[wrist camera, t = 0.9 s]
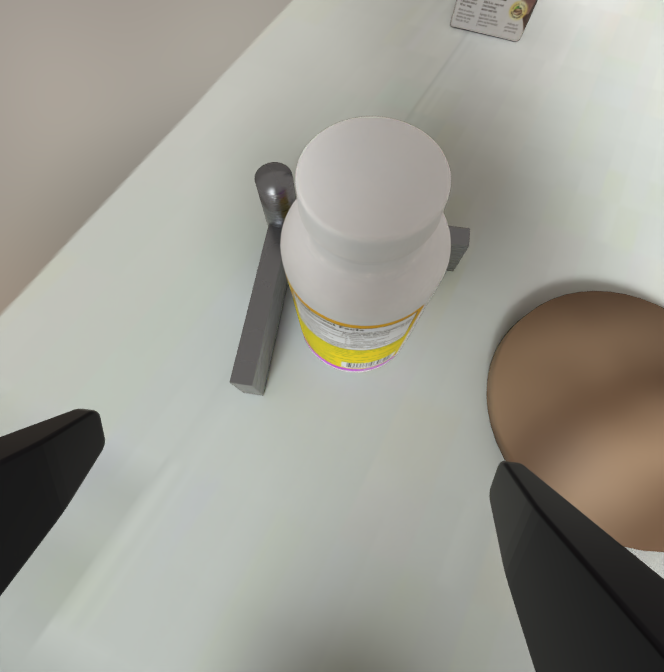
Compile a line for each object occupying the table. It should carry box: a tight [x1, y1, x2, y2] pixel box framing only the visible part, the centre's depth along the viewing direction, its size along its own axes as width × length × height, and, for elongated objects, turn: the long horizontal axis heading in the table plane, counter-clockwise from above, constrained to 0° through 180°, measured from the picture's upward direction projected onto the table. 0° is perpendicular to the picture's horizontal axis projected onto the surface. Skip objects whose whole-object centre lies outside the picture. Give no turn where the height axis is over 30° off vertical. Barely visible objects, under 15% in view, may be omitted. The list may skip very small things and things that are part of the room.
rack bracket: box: [230, 162, 470, 396], centre depth 20 cm, size 12×12×6 cm
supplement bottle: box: [280, 116, 451, 372], centre depth 17 cm, size 7×7×13 cm
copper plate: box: [487, 291, 664, 552], centre depth 20 cm, size 14×14×1 cm
